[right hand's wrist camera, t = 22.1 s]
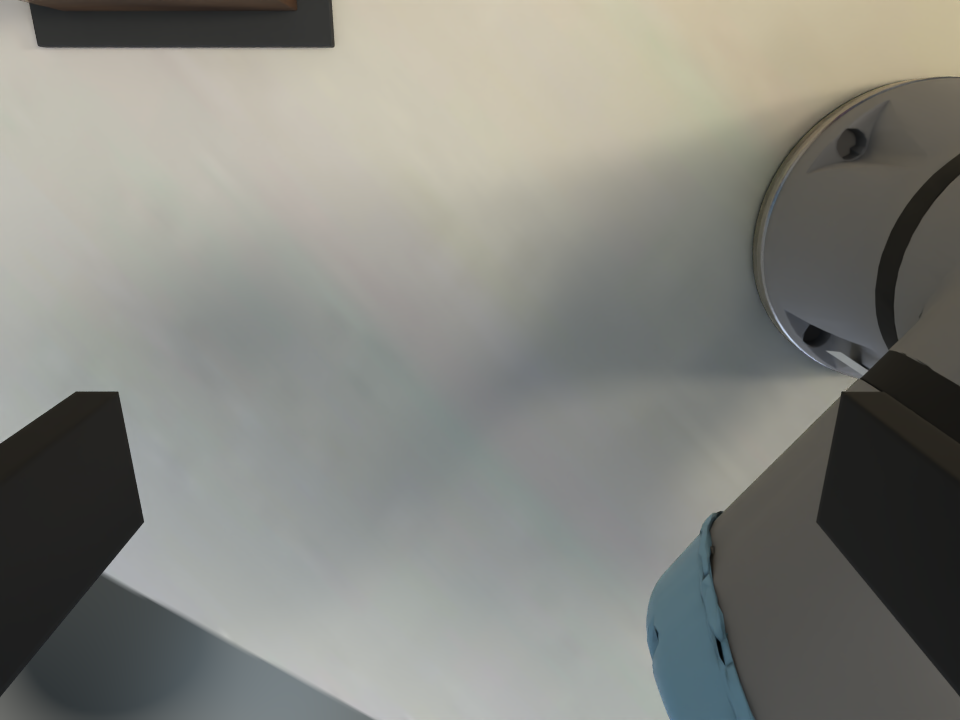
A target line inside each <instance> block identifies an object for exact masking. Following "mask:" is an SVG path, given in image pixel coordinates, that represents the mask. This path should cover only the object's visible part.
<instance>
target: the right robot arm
mask: <svg viewBox="0 0 960 720" xmlns="http://www.w3.org/2000/svg"><path fill="white" fill-rule="evenodd" d="M753 268H754V277H755V281H756V286H757V290H758V293H759V296H760V299H761V302H762V304H763V306H764V308H765V310H766V312H767V314H768V316H769V317H770V319H771V320H772V322H773V324H774V325H775V326H776V327H777V329H778V330H779V331H780V333H781V334H782V335H783V336H784V337H785V338H786V339H787V340H788V341H789V342H791V343H792V344H793V345H794V346H796V347H797V348H798V349H799V350H801V351H802V352H803V353H805V354H806V355H807V356H809V357H810V358H812V359H813V360H815V361H817V362H818V363H820V364H822V365H824V366H826V367H828V368H830V369H832V370H835V371H838V372H840V373H843V374H846V375H848V376H851V377H855V378H858V380H857V381H856V382H855V383H854V384H853V385H852V386H851V387H850V388H849V389H848V390H846V391H845V392H842V393H841V396H840V397H839V398H838V399H837V400H836V401H835V402H834V403H833V404H832V405H831V406H830V407H829V408H828V409H827V410H826V411H825V412H824V413H823V414H822V415H821V416H820V417H819V418H818V419H817V420H816V421H815V422H814V423H813V424H812V425H811V426H810V427H809V428H808V429H807V430H806V431H805V432H804V433H803V434H802V435H801V436H800V437H799V438H798V439H797V440H796V441H795V442H794V443H793V444H792V445H791V446H790V447H789V448H788V449H787V450H786V451H785V452H784V453H783V454H782V455H781V456H780V457H779V458H778V459H777V460H776V461H775V462H774V463H773V464H772V465H770V466H769V467H768V468H767V469H766V470H765V471H764V472H763V473H762V474H761V475H760V476H759V477H758V478H757V479H756V480H755V481H754V482H753V483H752V484H751V485H750V486H749V487H748V488H747V489H746V490H745V491H744V492H743V493H742V494H741V495H740V496H739V497H738V498H737V499H736V500H735V501H734V502H733V503H732V504H731V505H730V506H729V507H728V508H727V509H726V510H725V511H720V512H717V513H712V514H711V515H710V516H709V517H708V518H707V519H706V521H705V522H704V523H703V525H702V528H701V531H700V534H699V535H698V536H697V538H696V539H695V540H694V541H693V542H692V543H691V544H690V545H689V546H688V547H687V549H686V550H685V551H684V552H683V553H682V554H681V555H680V556H679V557H678V558H677V560H676V561H675V562H674V563H673V564H672V565H671V566H670V567H669V568H668V569H667V571H666V572H665V573H664V574H663V575H662V576H661V578H660V579H659V581H658V582H657V584H656V585H655V587H654V590H653V592H652V594H651V597H650V601H649V605H648V611H647V622H646V628H647V642H648V647H649V650H650V654H651V657H652V661H653V665H652V666H653V673H654V677H655V680H656V683H657V686H658V689H659V692H660V695H661V698H662V701H663V703H664V706H665V709H666V711H667V714H668V716H669V718H670V720H960V77H934V78H921V79H913V80H906V81H900V82H896V83H893V84H889V85H885V86H882V87H879V88H877V89H874V90H871V91H869V92H867V93H864V94H862V95H860V96H858V97H856V98H854V99H852V100H851V101H849V102H847V103H845V104H844V105H842V106H840V107H839V108H837V109H836V110H834V111H833V112H832V113H830V114H829V115H827V116H826V117H825V118H824V119H822V120H821V121H820V122H819V123H818V124H816V125H815V126H814V127H813V128H812V129H811V130H810V131H809V132H808V133H807V134H806V135H805V136H804V137H803V138H802V139H801V140H800V141H799V142H798V144H797V145H796V146H795V147H794V148H793V149H792V151H791V152H790V153H789V155H788V156H787V157H786V159H785V160H784V161H783V163H782V164H781V166H780V168H779V169H778V171H777V173H776V174H775V176H774V178H773V180H772V182H771V184H770V186H769V188H768V190H767V192H766V194H765V197H764V200H763V202H762V205H761V208H760V211H759V215H758V218H757V222H756V227H755V233H754V241H753ZM143 523H144V519H143V514H142V509H141V504H140V499H139V494H138V489H137V484H136V479H135V474H134V469H133V464H132V459H131V454H130V449H129V444H128V438H127V433H126V428H125V423H124V418H123V413H122V408H121V403H120V398H119V393H118V392H75V393H73V394H72V395H70V396H69V397H68V398H66V399H65V400H63V401H62V402H60V403H59V404H57V405H56V406H54V407H53V408H52V409H50V410H49V411H47V412H46V413H44V414H43V415H41V416H40V417H38V418H37V419H36V420H34V421H33V422H31V423H30V424H28V425H27V426H25V427H24V428H22V429H21V430H20V431H18V432H17V433H15V434H14V435H12V436H11V437H9V438H8V439H6V440H5V441H4V442H2V443H1V444H0V696H1V695H2V694H3V693H4V692H5V690H6V689H7V688H8V687H9V685H10V684H11V683H12V682H13V681H14V679H15V678H16V677H17V676H18V674H19V673H20V672H21V671H22V670H23V669H24V667H25V666H26V665H27V664H28V662H29V661H30V660H31V659H32V658H33V656H34V655H35V654H36V653H37V652H38V650H39V649H40V648H41V647H42V645H43V644H44V643H45V642H46V641H47V639H48V638H49V637H50V636H51V634H52V633H53V632H54V631H55V630H56V628H57V627H58V626H59V625H60V624H61V622H62V621H63V620H64V619H65V617H66V616H67V615H68V614H69V613H70V611H71V610H72V609H73V608H74V607H75V605H76V604H77V603H78V602H79V600H80V599H81V598H82V597H83V596H84V594H85V593H86V592H87V591H88V590H89V588H90V587H91V586H92V585H93V583H94V582H95V581H96V580H97V579H98V577H99V576H100V575H101V574H102V573H103V571H104V570H105V569H106V568H107V566H108V565H109V564H110V563H111V562H112V560H113V559H114V558H115V557H116V555H117V554H118V553H119V552H120V551H121V549H122V548H123V547H124V546H125V545H126V543H127V542H128V541H129V540H130V538H131V537H132V536H133V535H134V534H135V532H136V531H137V530H138V529H139V528H140V526H141V525H142V524H143Z"/></svg>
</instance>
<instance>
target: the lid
mask: <svg viewBox="0 0 960 720" xmlns="http://www.w3.org/2000/svg"><path fill="white" fill-rule="evenodd" d="M20 1H25V2H29V3H33V4H37V5H41V6H45V7H49V8H53V9H57V10H61V11H296V10H297V0H20Z"/></svg>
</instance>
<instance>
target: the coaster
mask: <svg viewBox="0 0 960 720" xmlns="http://www.w3.org/2000/svg"><path fill="white" fill-rule="evenodd" d="M29 4H30V9H31V14H32V19H33V24H34V29H35V34H36V39H37V44H38V46H41V47H334V46H335V45H334V30H333V15H332V0H297V10H296V11H61V10H57V9H53V8H49V7H45V6H41V5H37V4H33V3H29Z"/></svg>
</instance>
